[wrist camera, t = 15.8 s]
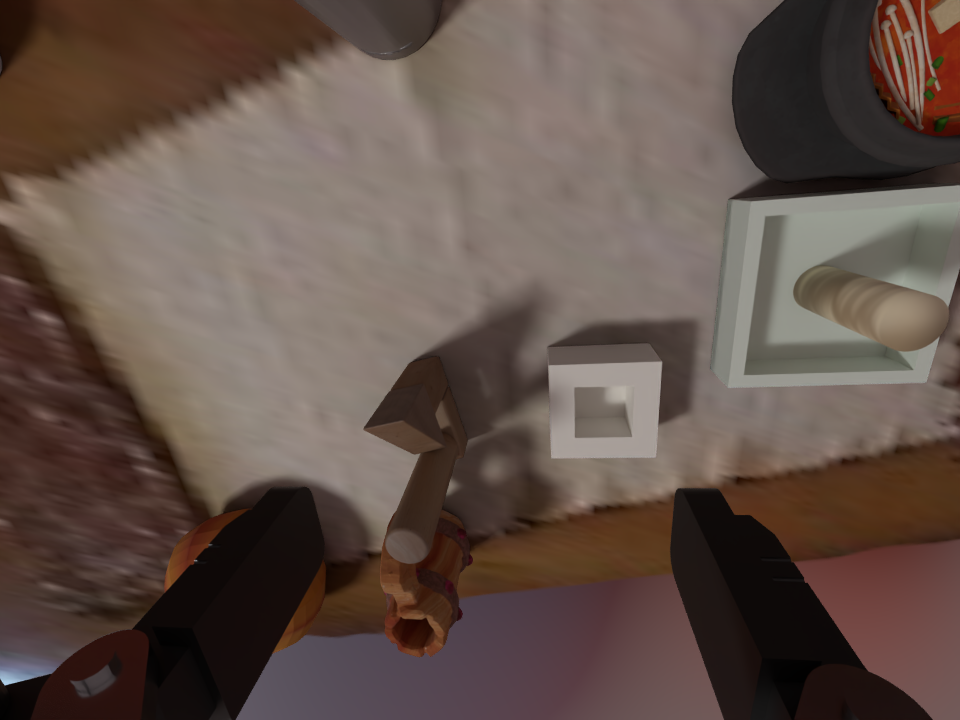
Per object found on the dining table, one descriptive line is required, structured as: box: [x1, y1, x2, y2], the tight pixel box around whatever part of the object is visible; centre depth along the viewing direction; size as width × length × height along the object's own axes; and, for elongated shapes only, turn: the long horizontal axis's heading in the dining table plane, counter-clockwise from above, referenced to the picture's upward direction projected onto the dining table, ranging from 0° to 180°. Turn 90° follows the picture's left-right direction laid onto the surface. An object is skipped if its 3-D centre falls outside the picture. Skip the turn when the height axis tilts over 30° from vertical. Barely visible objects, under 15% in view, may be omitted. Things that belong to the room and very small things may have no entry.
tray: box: [710, 183, 960, 388], centre depth 39 cm, size 16×16×4 cm
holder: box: [547, 343, 662, 458], centre depth 45 cm, size 10×10×5 cm
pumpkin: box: [165, 508, 326, 654], centre depth 55 cm, size 19×19×15 cm
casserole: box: [732, 0, 960, 183], centre depth 31 cm, size 25×19×8 cm
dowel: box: [793, 265, 949, 352], centre depth 35 cm, size 4×4×11 cm
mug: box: [380, 510, 473, 657], centre depth 49 cm, size 15×8×15 cm, turn 10°
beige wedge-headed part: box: [364, 356, 468, 564], centre depth 42 cm, size 4×11×18 cm, turn 16°
